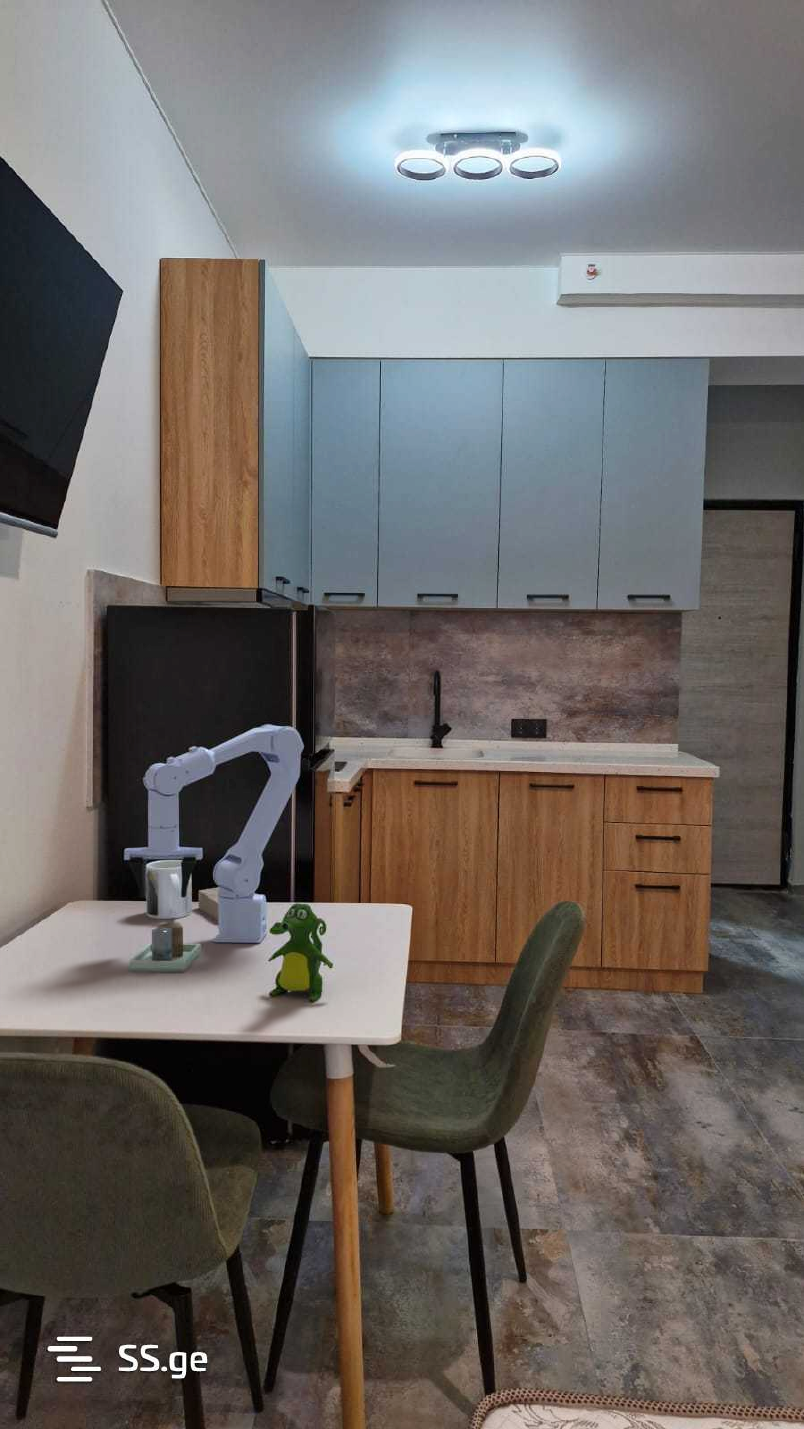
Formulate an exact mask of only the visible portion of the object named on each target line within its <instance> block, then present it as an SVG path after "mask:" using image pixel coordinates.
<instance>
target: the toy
mask: <svg viewBox="0 0 804 1429" xmlns="http://www.w3.org/2000/svg"><path fill="white" fill-rule="evenodd" d="M324 920H325V919H322V918H320V917H319V918H318V917H317V914H315V913H314V912H313V910H312V908H311V906H310V905H309V904H306V903H294V904H293V905H291V906H290V908H288V910H287V912H286V913H285V914H284V917H283V918H282V920H281V922H278V921H277V922H275V923H274V924H273V925H272V927H271V928H269V934H272V935H275V936H278V935H283V934H285V933H286V932H288V933H289V936H290V938H289V940H288V941H286V943H285V944H283V945H282V946H281V947H280V948H279V949H278V950H277V951H275V952H274V953H272V955H271V956H270V957H269V959H268V960H267V961H268V962H271V961H273V960H275V959H277V958H279V957H280V956H283V959H282V964H281V968H280V969H281V970H279V971H278V972H277V974H276V977H275V982H274V984H275V988H274V989H272V990H270V991H269V993H268V995H269V996H270V997H276V996H277V995H279V994H282V993H283V992H285V991H289V992H294V993H301V992H306V991H310V992H311V993H310V996H309V997H308V1001H309V1002H315V1001H316V1000H317V999H318V998H319V997H320V996H321V995H322V994H323V977H322V975H321V974H320V972H319V970H320V967H321V965H322V963H323V966H326V965H327V967H328V968H329V970H331V969H332V968H334V967H333V966H334V964H333V962H331V961H330V960H329V959H328V957H327V956H326V955H325V954H323V953H322V952H323V951H322V949H323V943H322V941H321V939H320V936H323V935H325V933H326V932H327V924H326V923H327V922H325V921H324ZM320 925H321V926H320ZM318 933H319V935H320V936H319V935H318ZM311 939H312V940H311Z"/></svg>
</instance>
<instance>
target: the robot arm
mask: <svg viewBox="0 0 804 1429" xmlns="http://www.w3.org/2000/svg"><path fill="white" fill-rule="evenodd" d="M304 747H305V745H304V742H303V740H302V737H301V734H300V733H299V731H298V729H295V727H292V726H288V725H287V726H286V725H285V726H282V725H281V726H279V725H273V724H264V725H261V726H260V727H254V728H251V729H250V730H248V731H246V732H244V733H242V734H239V735H238V736H234V738H232V739H229V740H227V741H225V742H223V743H221V744H219V745H217V746H215V747H213V748H212V747H211V748H210V749H208V748H205V747H203V746H199V747H197V746H192V747H191V746H190V747H189V748H188V750H189V751H188V752H186V753H183V754H181V755H179V756H176V757H174V756H170V757H167V758H166V763H161V762H159V763H154V764H152V765H151V766H149V767H148V768H149V769H147V770H146V772H145V774H144V777H143V778H142V782H143V785H144V786H145V788H146V790H148V793H147V796H148V800H147V801H148V802H147V805H148V806H147V809H148V811H147V814H148V815H147V818H148V819H147V821H148V822H147V823H148V824H147V826H148V828H147V830H148V831H147V832H148V834H147V840H148V844H147V845H148V846H147V847H145V846H144V847H128V848H125V849H124V851H123V852H124V853H123V854H124V855H123V856H124V857H123V860H124V861H129V862H128V864H129V868H130V870H131V873H133V876H134V878H135V880H136V883H137V886H138V891H139V895H140V898H146V865H147V860H182V862H181V870H182V888H181V897H186V895H187V887H188V883H189V879H190V876H191V877H192V874H193V871H194V868H195V866H196V863H197V862H198V860H200V861H201V860H202V859H203V847H185V846H180V830H179V829H180V826H179V825H180V819H179V818H180V816H179V814H180V808H179V807H180V804H179V802H180V801H179V800H180V799H179V793H180V792H181V791H182V789H183V787H186V786H188V785H189V784H192V783H194V782H196V781H198V780H201V779H203V778H205V777H208V776H210V775H212V774H213V773H214V772H215V769H216V767H217V765H220V764H222V763H225V762H227V761H230V760H233V759H236V758H239V757H241V756H243V755H245V754H248V753H251V752H257V753H259V754H260V755H261V757H262V758H263V759H264V760H265V762H266V763H267V766H268V768H269V770H270V777H269V778H268V781H267V782H266V785H265V786H264V789H263V790H262V793H261V795H260V796H259V798H258V801H257V803H256V804H255V807H254V809H253V811H252V813H251V815H250V817H249V819H248V821H247V822H246V825H245V827H244V829H243V831H242V833H241V835H240V837H239V839H238V841H237V842H236V843H235V844H234V845H232V846H231V847H230V848H228V849H227V851H226V853H225V855H223V858H221V859H220V860H219V861H217V862H216V864H215V866H214V868H213V872H212V878H213V881H214V882H215V884H216V885H217V886H218V887H219V891H218V920H217V922H218V932H217V935H216V936H215V937H214V938H213V939H212V942H213V943H242V944H243V943H253V944H255V943H256V944H258V943H261V942H262V941H263V940H264V938H265V936H266V935H267V933H268V931H267V898H266V895H265V894H258V893H255V892H256V891H257V889H258V888H259V885H260V881H261V872H262V869H263V868H264V860H263V856H262V855H263V852H264V850H265V848H266V846H267V844H268V842H269V841H270V838H271V836H272V833H273V831H274V830H275V827H276V826H277V824H278V821H279V820H280V817H281V815H282V813H283V811H284V809H285V808H286V805H287V803H288V801H289V799H290V797H291V795H292V793H293V791H294V789H295V787H296V785H297V782H298V781H299V778H300V776H301V761H302V760H301V758H302V756H301V755H302V752H303V750H304Z"/></svg>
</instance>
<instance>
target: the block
mask: <svg viewBox="0 0 804 1429" xmlns="http://www.w3.org/2000/svg"><path fill="white" fill-rule="evenodd" d="M156 928H170V929H172V958H173V957H182V956H183V944H184V926H182V924H181V923H180V922H177V921H176V922H168V923H159V924H158V923H157V926H156Z"/></svg>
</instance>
